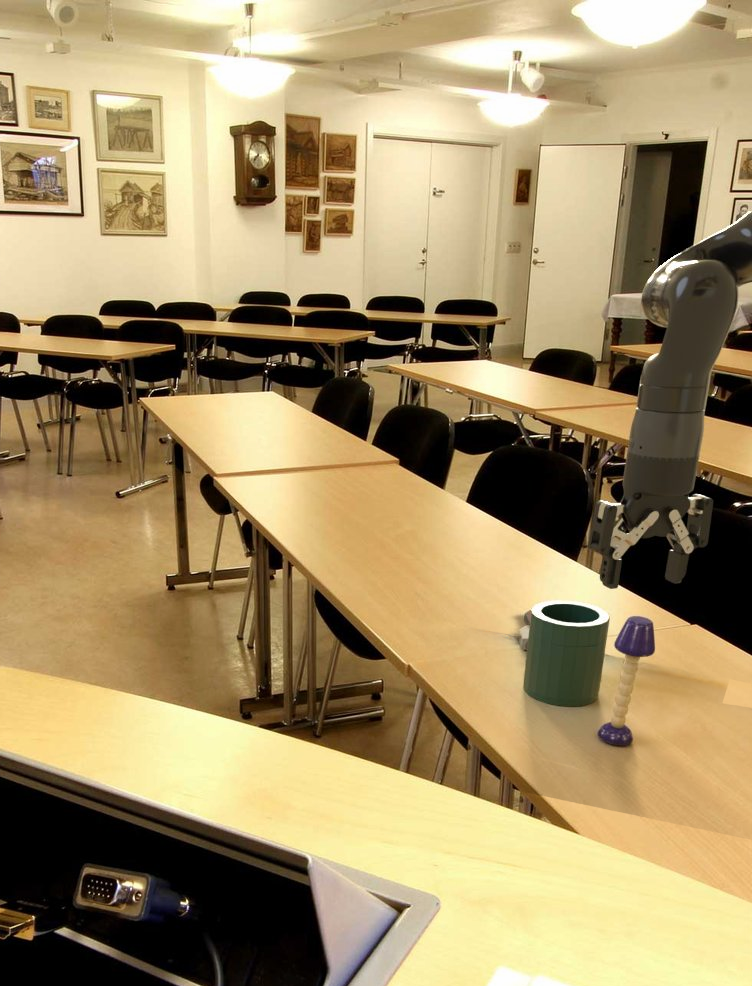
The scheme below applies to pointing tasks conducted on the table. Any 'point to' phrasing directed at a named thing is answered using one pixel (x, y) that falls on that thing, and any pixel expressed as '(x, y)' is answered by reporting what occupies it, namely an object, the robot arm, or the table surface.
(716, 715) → the table surface
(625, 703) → the toy lamp
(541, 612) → the green cylindrical cup
